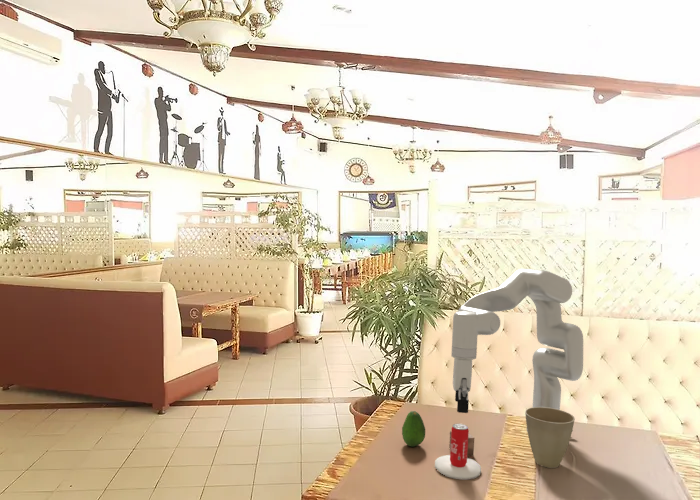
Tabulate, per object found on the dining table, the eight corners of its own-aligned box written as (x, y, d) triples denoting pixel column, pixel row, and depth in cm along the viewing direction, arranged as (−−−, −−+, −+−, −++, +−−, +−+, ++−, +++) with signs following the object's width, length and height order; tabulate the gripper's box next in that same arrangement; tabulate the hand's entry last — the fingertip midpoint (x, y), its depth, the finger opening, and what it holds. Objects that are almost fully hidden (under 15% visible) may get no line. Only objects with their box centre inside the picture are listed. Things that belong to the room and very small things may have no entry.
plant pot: (569, 457, 177) (573, 410, 176) (573, 477, 163) (576, 426, 162) (522, 449, 182) (525, 403, 181) (521, 468, 168) (524, 418, 167)
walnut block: (465, 448, 181) (466, 430, 181) (473, 455, 175) (474, 437, 175) (449, 448, 180) (450, 431, 180) (456, 456, 174) (457, 438, 174)
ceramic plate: (478, 461, 171) (478, 457, 171) (483, 481, 157) (483, 477, 157) (434, 456, 173) (434, 453, 173) (435, 476, 159) (435, 472, 159)
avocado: (398, 447, 179) (400, 412, 178) (405, 439, 186) (406, 405, 185) (421, 452, 176) (423, 417, 175) (427, 443, 183) (429, 409, 182)
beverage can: (467, 469, 163) (469, 430, 162) (449, 466, 163) (451, 428, 163) (466, 461, 168) (468, 424, 167) (449, 459, 169) (451, 422, 168)
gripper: (450, 344, 172) (447, 396, 173) (453, 358, 155) (450, 415, 156) (473, 346, 171) (471, 398, 172) (479, 360, 154) (476, 418, 155)
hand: (461, 406), depth 164 cm, fingers open, 9 cm apart
